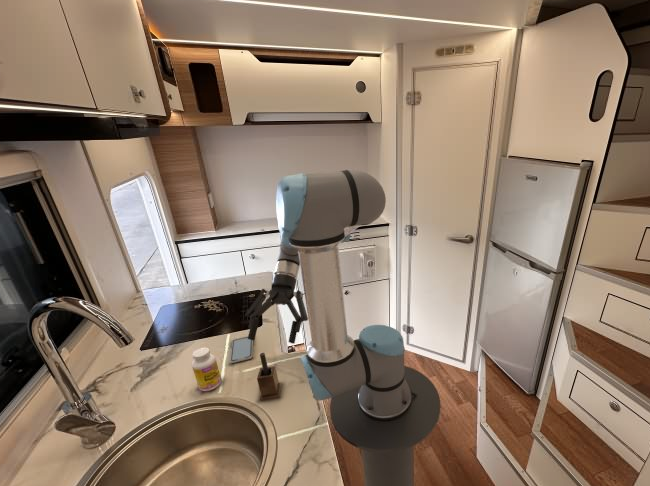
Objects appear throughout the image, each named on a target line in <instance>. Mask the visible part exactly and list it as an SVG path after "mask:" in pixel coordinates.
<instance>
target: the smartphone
mask: <svg viewBox="0 0 650 486" xmlns="http://www.w3.org/2000/svg"><path fill="white" fill-rule="evenodd" d="M253 341H254V340H250V339H248V336H244V337H240V338H234V339H233V340H232V343H231V351H230V359H229V360H230V361H229V362H230V363H231V364H234V363H239V362H243V361H247V360H252V359H253V352H254V351H253V348H254V347H253V346H254V344H253V343H254V342H253Z"/></svg>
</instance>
